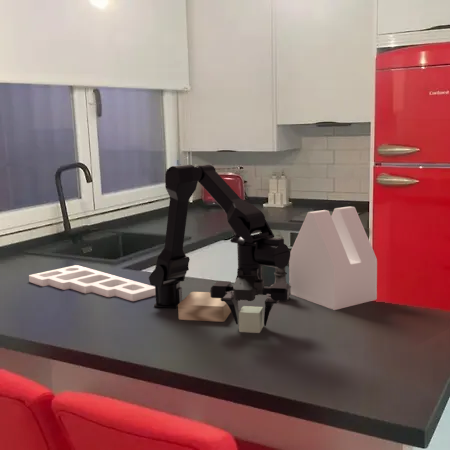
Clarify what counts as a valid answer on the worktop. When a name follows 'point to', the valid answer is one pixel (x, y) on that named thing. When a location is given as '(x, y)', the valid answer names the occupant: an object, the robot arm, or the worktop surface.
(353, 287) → the milk carton
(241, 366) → the worktop surface
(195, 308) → the oak riser block
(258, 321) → the sage cube
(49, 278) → the holder
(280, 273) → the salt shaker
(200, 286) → the worktop surface
